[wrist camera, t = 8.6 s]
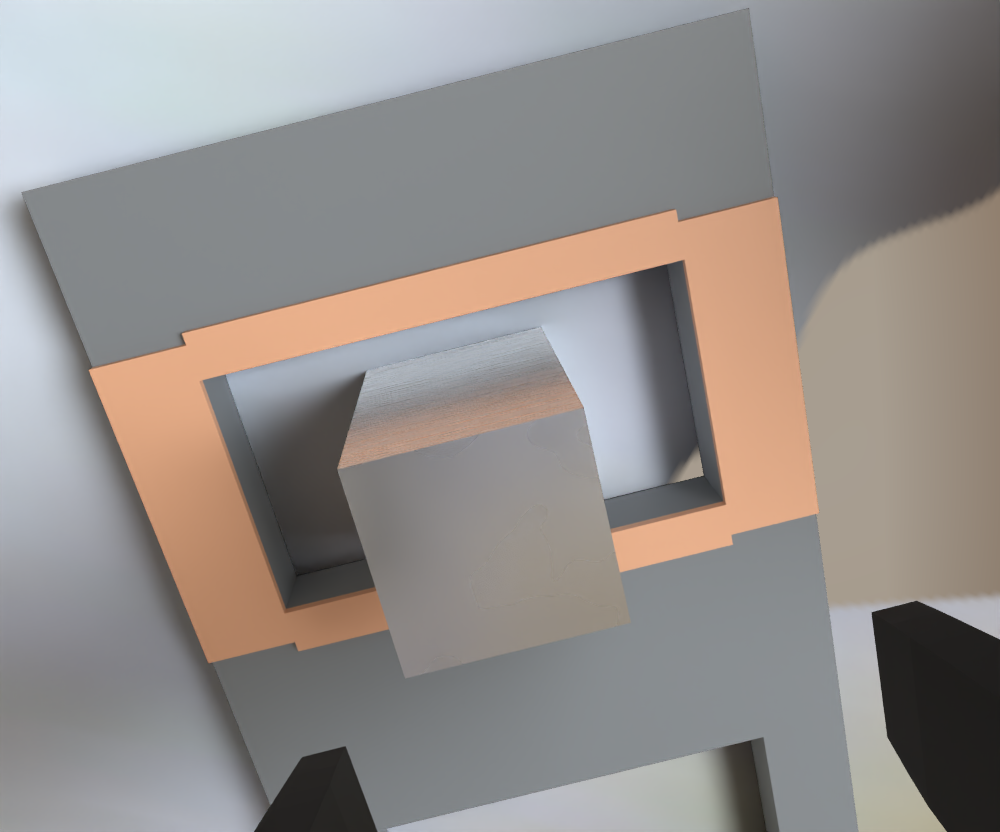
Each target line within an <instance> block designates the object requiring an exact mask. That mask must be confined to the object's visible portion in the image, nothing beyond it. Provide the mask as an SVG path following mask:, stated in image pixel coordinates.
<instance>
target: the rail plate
mask: <svg viewBox="0 0 1000 832" xmlns="http://www.w3.org/2000/svg"><path fill="white" fill-rule="evenodd" d="M21 193H22V195H23V198H24V200H25V203H26V205H27V208H28V210H29V213H30V215H31V218H32V220H33V222H34V225H35V227H36V230H37V232H38V235H39V237H40V240H41V242H42V245H43V247H44V250H45V252H46V254H47V257H48V259H49V262H50V264H51V267H52V269H53V272H54V274H55V277H56V279H57V281H58V284H59V286H60V289H61V291H62V294H63V296H64V299H65V301H66V304H67V306H68V309H69V311H70V313H71V316H72V318H73V321H74V323H75V326H76V328H77V331H78V333H79V336H80V338H81V341H82V343H83V345H84V348H85V350H86V353H87V355H88V358H89V360H90V363H91V365H92V368H91V369H90V370H89V372H90V375H91V377H92V380H93V382H94V385H95V387H96V389H97V392H98V394H99V397H100V399H101V402H102V404H103V407H104V409H105V411H106V414H107V416H108V419H109V421H110V424H111V426H112V429H113V431H114V434H115V436H116V438H117V441H118V443H119V446H120V448H121V451H122V453H123V456H124V458H125V460H126V463H127V465H128V468H129V470H130V473H131V475H132V478H133V480H134V482H135V485H136V487H137V490H138V492H139V495H140V497H141V500H142V502H143V505H144V507H145V509H146V512H147V514H148V517H149V519H150V522H151V524H152V527H153V529H154V531H155V534H156V536H157V539H158V541H159V544H160V546H161V549H162V551H163V554H164V556H165V558H166V561H167V563H168V566H169V568H170V571H171V573H172V576H173V578H174V580H175V583H176V585H177V588H178V590H179V593H180V595H181V598H182V600H183V603H184V605H185V607H186V610H187V612H188V615H189V617H190V620H191V622H192V625H193V627H194V629H195V632H196V634H197V637H198V639H199V642H200V644H201V647H202V649H203V651H204V654H205V656H206V659H207V661H208V663H213V665H214V668H215V670H216V673H217V675H218V678H219V680H220V683H221V685H222V688H223V690H224V692H225V695H226V697H227V700H228V702H229V705H230V707H231V710H232V712H233V715H234V717H235V720H236V722H237V724H238V727H239V729H240V732H241V734H242V737H243V739H244V742H245V744H246V747H247V749H248V752H249V754H250V756H251V759H252V761H253V764H254V766H255V769H256V771H257V774H258V776H259V779H260V781H261V784H262V786H263V788H264V791H265V793H266V796H267V798H268V801H269V803H270V806H271V804H272V803H273V801H274V799H275V798H276V796H277V795H278V793H279V792H280V790H281V788H282V787H283V785H284V784H285V782H286V781H287V779H288V778H289V776H290V774H291V773H292V771H293V770H294V768H295V767H296V765H297V764H298V762H299V761H300V759H301V758H302V757H304V756H308V755H312V754H316V753H320V752H324V751H328V750H332V749H336V748H340V747H344V746H346V748H347V751H348V754H349V756H350V759H351V762H352V764H353V767H354V770H355V773H356V775H357V778H358V781H359V783H360V786H361V789H362V791H363V794H364V797H365V799H366V802H367V805H368V807H369V810H370V813H371V815H372V818H373V821H374V823H375V826H376V829H377V831H378V832H387V828H391V827H395V826H399V825H403V824H408V823H412V822H416V821H420V820H424V819H428V818H432V817H436V816H440V815H445V814H449V813H453V812H457V811H461V810H465V809H469V808H473V807H478V806H482V805H486V804H490V803H494V802H498V801H502V800H506V799H510V798H515V797H519V796H523V795H527V794H531V793H535V792H539V791H543V790H548V789H552V788H556V787H560V786H564V785H568V784H572V783H576V782H580V781H585V780H589V779H593V778H597V777H601V776H605V775H609V774H613V773H618V772H622V771H626V770H630V769H634V768H638V767H642V766H646V765H650V764H655V763H659V762H663V761H667V760H671V759H675V758H679V757H683V756H688V755H692V754H696V753H700V752H704V751H708V750H712V749H716V748H720V747H725V746H729V745H733V744H737V743H741V742H745V741H749V740H751V746H752V751H753V757H754V763H755V768H756V774H757V780H758V785H759V791H760V797H761V802H762V808H763V814H764V819H765V825H766V831H767V832H858V825H857V818H856V810H855V803H854V795H853V788H852V780H851V773H850V765H849V758H848V750H847V743H846V735H845V728H844V720H843V713H842V705H841V698H840V690H839V682H838V675H837V667H836V660H835V652H834V645H833V637H832V630H831V622H830V615H829V607H828V601H827V592H826V585H825V577H824V570H823V563H822V555H821V547H820V540H819V532H818V524H817V517H816V514H818V513H819V508H818V501H817V493H816V486H815V477H814V470H813V462H812V455H811V447H810V439H809V432H808V424H807V417H806V409H805V402H804V394H803V386H802V380H801V372H800V363H799V356H798V348H797V341H796V333H795V325H794V318H793V310H792V303H791V295H790V287H789V280H788V272H787V265H786V257H785V249H784V242H783V234H782V227H781V219H780V211H779V204H778V197H774V193H773V186H772V178H771V171H770V163H769V156H768V148H767V141H766V133H765V126H764V118H763V111H762V103H761V96H760V88H759V81H758V73H757V65H756V58H755V50H754V43H753V35H752V28H751V20H750V13H749V8H747V9H743V10H739V11H735V12H731V13H727V14H723V15H719V16H715V17H711V18H708V19H704V20H700V21H696V22H692V23H688V24H684V25H680V26H676V27H672V28H668V29H664V30H660V31H656V32H652V33H648V34H644V35H640V36H637V37H633V38H629V39H625V40H621V41H617V42H613V43H609V44H605V45H601V46H597V47H593V48H589V49H585V50H581V51H577V52H573V53H569V54H566V55H562V56H558V57H554V58H550V59H546V60H542V61H538V62H534V63H530V64H526V65H522V66H518V67H514V68H510V69H506V70H502V71H498V72H495V73H491V74H487V75H483V76H479V77H475V78H471V79H467V80H463V81H459V82H455V83H451V84H447V85H443V86H439V87H435V88H431V89H427V90H424V91H420V92H416V93H412V94H408V95H404V96H400V97H396V98H392V99H388V100H384V101H380V102H376V103H372V104H368V105H364V106H360V107H356V108H353V109H349V110H345V111H341V112H337V113H333V114H329V115H325V116H321V117H317V118H313V119H309V120H305V121H301V122H297V123H293V124H289V125H285V126H282V127H278V128H274V129H270V130H266V131H262V132H258V133H254V134H250V135H246V136H242V137H238V138H234V139H230V140H226V141H222V142H218V143H214V144H211V145H207V146H203V147H199V148H195V149H191V150H187V151H183V152H179V153H175V154H171V155H167V156H163V157H159V158H155V159H151V160H147V161H143V162H140V163H136V164H132V165H128V166H124V167H120V168H116V169H112V170H108V171H104V172H100V173H96V174H92V175H88V176H84V177H80V178H76V179H72V180H69V181H65V182H61V183H57V184H53V185H49V186H45V187H41V188H37V189H33V190H29V191H25V192H21ZM665 264H667V269H668V275H669V281H670V286H671V292H672V298H673V303H674V309H675V315H676V320H677V326H678V332H679V337H680V343H681V349H682V354H683V360H684V366H685V371H686V377H687V383H688V388H689V394H690V400H691V405H692V411H693V417H694V422H695V428H696V434H697V439H698V445H699V451H700V456H701V462H702V468H703V473H704V476H701V477H697V478H693V479H689V480H685V481H680V482H676V483H672V484H668V485H664V486H660V487H656V488H652V489H648V490H644V491H640V492H636V493H632V494H628V495H624V496H620V497H616V498H612V499H608V500H604V503H605V507H606V512H607V516H608V521H609V525H610V530H611V534H612V539H613V544H614V548H615V553H616V557H617V562H618V566H619V571H620V575H621V580H622V585H623V589H624V594H625V598H626V603H627V607H628V612H629V616H630V621H631V623H628V624H624V625H620V626H616V627H612V628H608V629H604V630H600V631H596V632H592V633H588V634H583V635H579V636H575V637H571V638H567V639H563V640H559V641H555V642H551V643H547V644H543V645H539V646H535V647H531V648H527V649H523V650H519V651H515V652H510V653H506V654H502V655H498V656H494V657H490V658H486V659H482V660H478V661H474V662H470V663H466V664H462V665H458V666H454V667H450V668H446V669H442V670H437V671H433V672H429V673H425V674H421V675H417V676H413V677H409V678H405V677H404V674H403V671H402V667H401V664H400V661H399V658H398V655H397V652H396V649H395V646H394V643H393V640H392V637H391V634H390V631H389V627H388V624H387V621H386V618H385V615H384V612H383V609H382V606H381V603H380V600H379V597H378V594H377V591H376V587H375V584H374V581H373V578H372V575H371V572H370V569H369V566H368V563H367V560H366V559H364V560H360V561H356V562H352V563H348V564H344V565H340V566H336V567H332V568H328V569H324V570H320V571H316V572H312V573H308V574H304V575H300V576H296V573H295V570H294V568H293V565H292V562H291V559H290V556H289V553H288V551H287V548H286V545H285V542H284V539H283V537H282V534H281V531H280V528H279V525H278V523H277V520H276V517H275V514H274V511H273V509H272V506H271V503H270V500H269V497H268V494H267V492H266V489H265V486H264V483H263V480H262V478H261V475H260V472H259V469H258V466H257V464H256V461H255V458H254V455H253V452H252V450H251V447H250V444H249V441H248V438H247V435H246V433H245V430H244V427H243V424H242V421H241V419H240V416H239V413H238V410H237V407H236V405H235V402H234V399H233V396H232V393H231V391H230V388H229V385H228V382H227V379H226V376H225V374H229V373H233V372H237V371H241V370H245V369H249V368H253V367H257V366H261V365H265V364H269V363H273V362H277V361H281V360H285V359H289V358H293V357H297V356H301V355H305V354H309V353H313V352H317V351H321V350H325V349H329V348H333V347H337V346H341V345H345V344H349V343H353V342H357V341H361V340H365V339H369V338H373V337H377V336H381V335H385V334H389V333H393V332H397V331H401V330H405V329H409V328H413V327H417V326H421V325H425V324H429V323H433V322H437V321H441V320H445V319H449V318H453V317H457V316H461V315H465V314H469V313H473V312H477V311H481V310H485V309H489V308H493V307H497V306H501V305H505V304H509V303H513V302H517V301H521V300H525V299H529V298H533V297H537V296H541V295H545V294H549V293H553V292H557V291H561V290H565V289H569V288H573V287H577V286H581V285H585V284H589V283H593V282H597V281H601V280H605V279H609V278H613V277H617V276H621V275H625V274H629V273H633V272H637V271H641V270H645V269H649V268H653V267H657V266H661V265H665Z"/></svg>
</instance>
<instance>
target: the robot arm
mask: <svg viewBox="0 0 1000 832" xmlns="http://www.w3.org/2000/svg"><path fill="white" fill-rule="evenodd" d="M872 620H873V628H874V635H875V643H876V651H877V659H878V667H879V675H880V682H881V690H882V698H883V706H884V714H885V722H886V729H887V737H888V739H889V741H890V742H891V744H892V746H893V748H894V749H895V751H896V753H897V755H898V756H899V758H900V760H901V762H902V763H903V765H904V767H905V768H906V770H907V772H908V774H909V775H910V777H911V779H912V780H913V782H914V784H915V785H916V787H917V789H918V790H919V792H920V794H921V795H922V797H923V798H924V800H925V802H926V803H927V805H928V807H929V808H930V809H931V811H932V812H933V813H934V815H935V816H936V818H937V819H938V820H939V822H940V823H941V824H942V826H943V827H944V828H945V830H946V831H947V832H1000V639H998V638H995V637H993V636H991V635H989V634H987V633H985V632H983V631H981V630H979V629H977V628H974V627H972V626H970V625H968V624H966V623H964V622H962V621H960V620H958V619H956V618H954V617H951V616H949V615H947V614H945V613H943V612H941V611H939V610H936V609H934V608H932V607H930V606H927V605H925V604H923V603H920V602H918V601H914V602H910V603H906V604H902V605H899V606H895V607H891V608H887V609H883V610H879V611H875V612H872ZM254 832H378V831H377V829H376V826H375V823H374V821H373V818H372V815H371V813H370V810H369V807H368V805H367V802H366V799H365V797H364V794H363V791H362V789H361V786H360V783H359V781H358V778H357V775H356V773H355V770H354V767H353V764H352V762H351V759H350V756H349V754H348V751H347V748H346V746H344V747H340V748H336V749H332V750H328V751H324V752H320V753H316V754H312V755H308V756H304V757H302V758H301V759H300V761H299V762H298V764H297V765H296V767H295V768H294V770H293V771H292V773H291V774H290V776H289V778H288V779H287V781H286V782H285V784H284V785H283V787H282V788H281V790H280V792H279V793H278V795H277V796H276V798H275V799H274V801H273V803H272V804H271V806H270V807H269V809H268V811H267V812H266V814H265V815H264V817H263V819H262V820H261V822H260V823H259V825H258V826H257V828H256V830H255V831H254Z"/></svg>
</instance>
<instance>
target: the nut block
mask: <svg viewBox="0 0 1000 832" xmlns="http://www.w3.org/2000/svg"><path fill="white" fill-rule="evenodd" d="M337 471H338V474H339V477H340V480H341V483H342V486H343V489H344V492H345V495H346V498H347V501H348V504H349V507H350V511H351V514H352V517H353V520H354V523H355V526H356V529H357V532H358V535H359V538H360V541H361V544H362V547H363V551H364V554H365V557H366V560H367V563H368V566H369V569H370V572H371V575H372V578H373V581H374V584H375V587H376V591H377V594H378V597H379V600H380V603H381V606H382V609H383V612H384V615H385V618H386V621H387V624H388V627H389V631H390V634H391V637H392V640H393V643H394V646H395V649H396V652H397V655H398V658H399V661H400V664H401V667H402V671H403V674H404V677H405V678H409V677H413V676H417V675H421V674H425V673H429V672H433V671H437V670H442V669H446V668H450V667H454V666H458V665H462V664H466V663H470V662H474V661H478V660H482V659H486V658H490V657H494V656H498V655H502V654H506V653H510V652H515V651H519V650H523V649H527V648H531V647H535V646H539V645H543V644H547V643H551V642H555V641H559V640H563V639H567V638H571V637H575V636H579V635H583V634H588V633H592V632H596V631H600V630H604V629H608V628H612V627H616V626H620V625H624V624H628V623H631V621H630V616H629V612H628V607H627V603H626V598H625V594H624V589H623V585H622V580H621V575H620V571H619V566H618V562H617V557H616V553H615V548H614V544H613V539H612V534H611V530H610V525H609V521H608V516H607V512H606V507H605V503H604V498H603V493H602V489H601V484H600V480H599V475H598V471H597V466H596V462H595V457H594V452H593V448H592V443H591V439H590V434H589V430H588V425H587V421H586V416H585V412H584V407H583V406H582V404H581V402H580V400H579V398H578V396H577V394H576V392H575V390H574V388H573V387H572V385H571V383H570V381H569V379H568V377H567V375H566V373H565V371H564V369H563V367H562V366H561V364H560V362H559V360H558V358H557V356H556V354H555V352H554V350H553V348H552V346H551V345H550V343H549V341H548V339H547V337H546V335H545V333H544V331H543V329H542V327H538V328H534V329H530V330H526V331H522V332H518V333H514V334H510V335H506V336H502V337H498V338H494V339H490V340H486V341H482V342H478V343H474V344H470V345H466V346H462V347H458V348H454V349H450V350H446V351H442V352H438V353H434V354H430V355H426V356H422V357H418V358H414V359H410V360H406V361H402V362H398V363H394V364H390V365H386V366H382V367H378V368H374V369H370V370H367V372H366V375H365V378H364V382H363V385H362V388H361V392H360V395H359V398H358V402H357V405H356V408H355V412H354V415H353V418H352V422H351V425H350V428H349V432H348V435H347V438H346V442H345V445H344V448H343V452H342V455H341V458H340V461H339V465H338V468H337Z"/></svg>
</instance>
